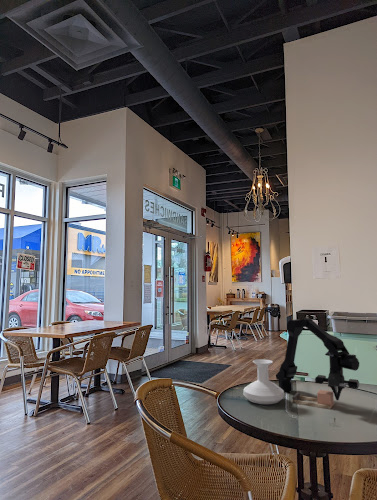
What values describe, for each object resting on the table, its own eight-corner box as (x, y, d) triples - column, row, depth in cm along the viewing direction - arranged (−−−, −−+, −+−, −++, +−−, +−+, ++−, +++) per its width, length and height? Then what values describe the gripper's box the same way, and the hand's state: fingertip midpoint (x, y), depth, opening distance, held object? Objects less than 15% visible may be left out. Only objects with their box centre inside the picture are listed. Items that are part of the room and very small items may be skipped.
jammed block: (317, 406, 172) (317, 392, 173) (320, 402, 178) (320, 389, 178) (331, 408, 169) (330, 394, 170) (333, 404, 174) (333, 391, 175)
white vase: (292, 401, 180) (291, 361, 182) (267, 410, 168) (265, 367, 169) (260, 392, 196) (259, 355, 197) (235, 400, 183) (234, 361, 185)
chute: (291, 403, 178) (291, 396, 178) (296, 398, 185) (296, 392, 185) (330, 409, 168) (330, 402, 168) (334, 404, 175) (334, 397, 176)
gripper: (311, 367, 170) (312, 401, 169) (355, 372, 160) (356, 409, 159) (317, 362, 180) (318, 395, 178) (358, 367, 170) (360, 401, 168)
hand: (337, 400), depth 171 cm, fingers closed
